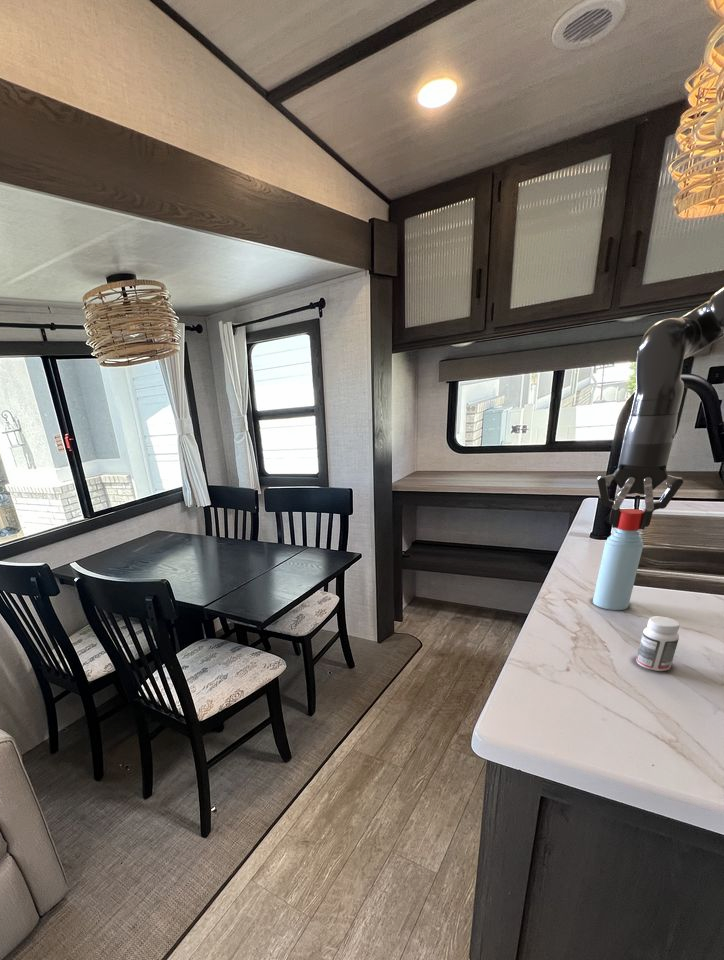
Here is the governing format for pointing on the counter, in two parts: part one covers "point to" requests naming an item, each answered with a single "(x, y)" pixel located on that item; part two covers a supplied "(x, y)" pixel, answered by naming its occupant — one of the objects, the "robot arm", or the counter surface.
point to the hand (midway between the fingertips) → (627, 527)
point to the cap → (630, 519)
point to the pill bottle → (658, 643)
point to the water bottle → (618, 569)
